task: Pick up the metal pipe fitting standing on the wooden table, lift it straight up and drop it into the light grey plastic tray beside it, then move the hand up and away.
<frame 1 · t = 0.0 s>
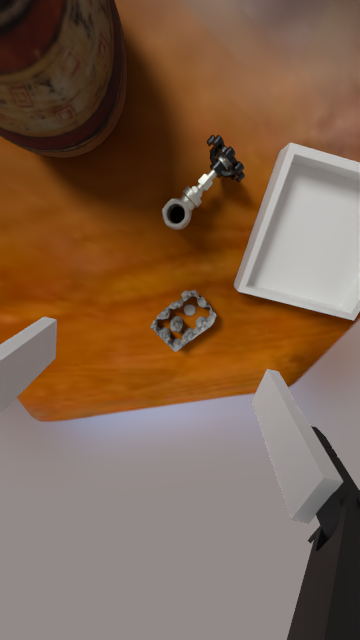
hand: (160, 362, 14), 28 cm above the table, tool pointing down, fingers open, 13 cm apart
brown vase: (62, 80, 31), on the table
tray: (313, 241, 37), on the table
grey open frame part: (184, 315, 44), on the table
valve: (195, 195, 36), on the table
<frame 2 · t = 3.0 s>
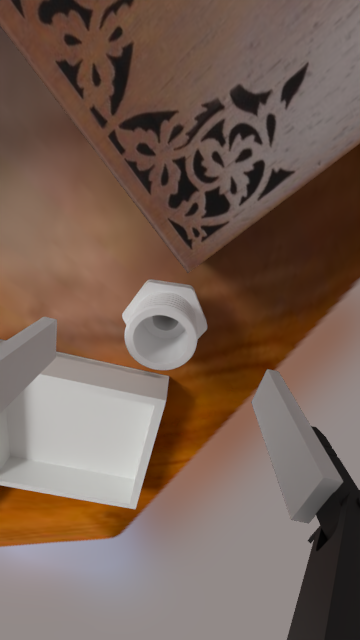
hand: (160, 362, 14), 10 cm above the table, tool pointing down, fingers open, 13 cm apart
tray: (79, 419, 31), on the table
pipe fitting: (169, 302, 24), on the table
tissue box cover: (272, 50, 16), on the table
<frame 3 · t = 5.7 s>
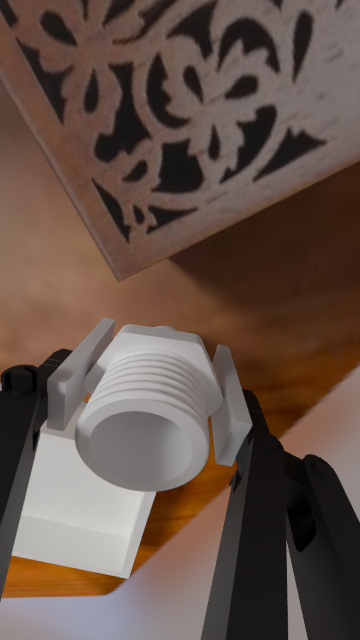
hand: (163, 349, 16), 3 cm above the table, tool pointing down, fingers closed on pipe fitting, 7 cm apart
tray: (63, 467, 26), on the table
pipe fitting: (164, 344, 16), point 3 cm above the table, touching gripper
tissue box cover: (314, 9, 12), on the table
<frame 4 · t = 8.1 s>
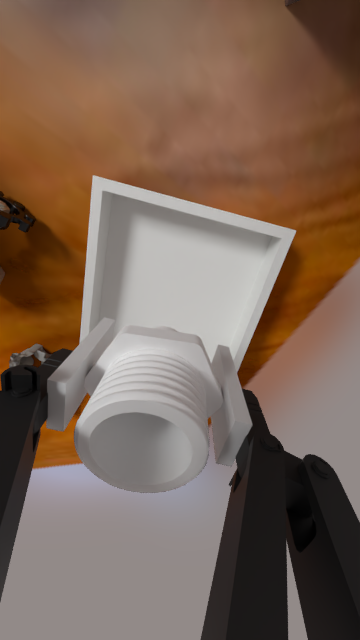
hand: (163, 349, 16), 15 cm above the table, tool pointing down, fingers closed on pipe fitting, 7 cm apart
tray: (175, 290, 29), on the table
pipe fitting: (164, 344, 16), point 14 cm above the table, touching gripper
grey open frame part: (50, 373, 36), on the table
valve: (4, 246, 29), on the table
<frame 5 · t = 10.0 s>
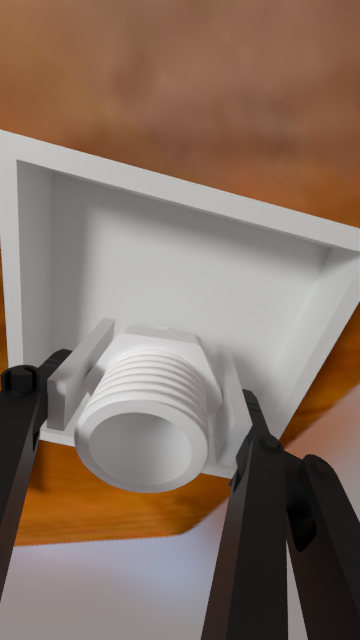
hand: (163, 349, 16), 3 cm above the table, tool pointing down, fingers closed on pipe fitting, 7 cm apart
tray: (167, 331, 19), on the table
pipe fitting: (164, 345, 16), point 3 cm above the table, touching gripper
when the fingers open (3 cm above the table, at t = 10.6 s): pipe fitting drops 2 cm, resting on tray.
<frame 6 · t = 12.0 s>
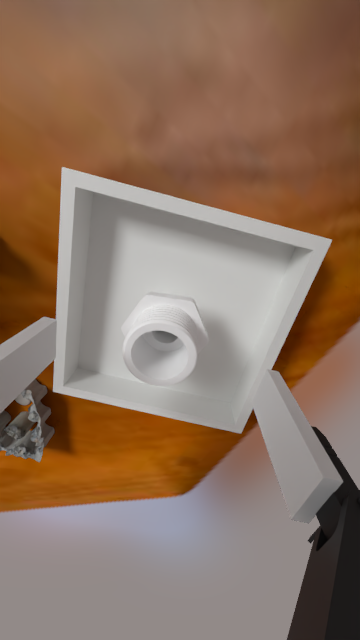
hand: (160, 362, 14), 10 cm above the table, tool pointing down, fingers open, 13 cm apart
tray: (173, 312, 24), on the table
pipe fitting: (170, 312, 23), point 1 cm above the table, touching tray
grey open frame part: (28, 406, 30), on the table
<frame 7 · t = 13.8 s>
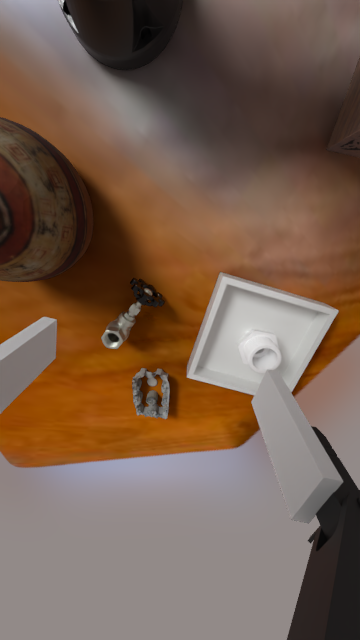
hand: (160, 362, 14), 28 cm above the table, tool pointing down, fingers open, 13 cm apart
brown vase: (43, 212, 38), on the table
tray: (251, 336, 44), on the table
pipe fitting: (251, 337, 44), point 1 cm above the table, touching tray
grey open frame part: (153, 387, 50), on the table
valve: (134, 309, 44), on the table
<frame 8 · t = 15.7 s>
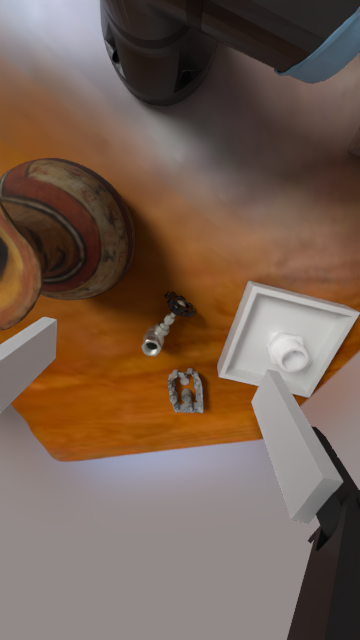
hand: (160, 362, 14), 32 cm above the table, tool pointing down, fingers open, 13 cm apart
brown vase: (87, 233, 42), on the table
tray: (277, 337, 48), on the table
pipe fitting: (277, 338, 48), point 1 cm above the table, touching tray
grey open frame part: (186, 385, 55), on the table
valve: (166, 318, 48), on the table
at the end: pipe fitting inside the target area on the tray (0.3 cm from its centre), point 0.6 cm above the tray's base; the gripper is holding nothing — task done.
